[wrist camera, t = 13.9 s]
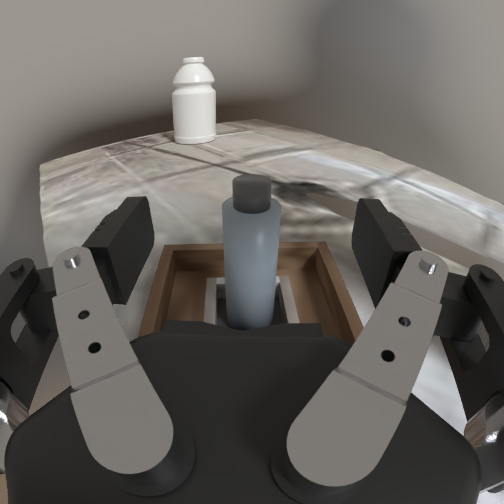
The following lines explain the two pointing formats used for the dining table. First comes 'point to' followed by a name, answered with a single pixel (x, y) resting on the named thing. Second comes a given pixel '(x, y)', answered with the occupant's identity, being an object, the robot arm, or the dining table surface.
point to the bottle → (194, 103)
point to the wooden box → (286, 292)
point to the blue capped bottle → (250, 252)
